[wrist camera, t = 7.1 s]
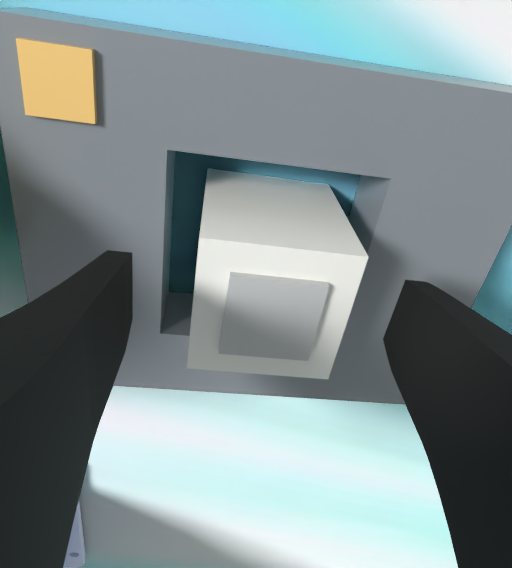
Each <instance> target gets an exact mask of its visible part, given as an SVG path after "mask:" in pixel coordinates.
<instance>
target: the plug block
mask: <svg viewBox="0 0 512 568" xmlns="http://www.w3.org/2000/svg"><path fill="white" fill-rule="evenodd" d="M367 260H368V255H367V253H366V251H365V250H364V248H363V246H362V244H361V242H360V240H359V239H358V237H357V235H356V233H355V231H354V230H353V228H352V226H351V224H350V222H349V221H348V219H347V217H346V215H345V213H344V211H343V210H342V208H341V206H340V204H339V202H338V201H337V199H336V197H335V195H334V193H333V191H332V190H331V188H330V186H329V184H322V183H315V182H307V181H300V180H292V179H285V178H278V177H270V176H263V175H255V174H248V173H241V172H233V171H226V170H218V169H211V168H208V170H207V178H206V186H205V194H204V202H203V210H202V218H201V226H200V234H199V243H198V254H197V264H196V275H195V285H194V296H193V306H192V316H191V327H190V337H189V348H188V358H187V368H186V369H199V370H212V371H225V372H238V373H251V374H264V375H277V376H290V377H303V378H316V379H329V375H330V372H331V369H332V366H333V363H334V360H335V357H336V354H337V351H338V348H339V345H340V342H341V339H342V336H343V333H344V330H345V327H346V324H347V321H348V318H349V315H350V312H351V309H352V306H353V303H354V300H355V297H356V294H357V291H358V288H359V285H360V282H361V279H362V276H363V273H364V270H365V267H366V263H367Z"/></svg>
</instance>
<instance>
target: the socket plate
mask: <svg viewBox="0 0 512 568" xmlns="http://www.w3.org/2000/svg"><path fill="white" fill-rule="evenodd" d="M0 127H1V133H2V140H3V146H4V153H5V159H6V166H7V172H8V178H9V185H10V191H11V198H12V204H13V210H14V217H15V223H16V230H17V236H18V242H19V249H20V255H21V262H22V268H23V275H24V281H25V287H26V294H27V300H28V303H30V302H31V301H33V300H35V299H36V298H38V297H39V296H41V295H43V294H44V293H46V292H48V291H49V290H51V289H52V288H54V287H56V286H57V285H59V284H60V283H62V282H63V281H65V280H66V279H68V278H69V277H71V276H72V275H73V274H75V273H76V272H78V271H79V270H81V269H82V268H83V267H85V266H86V265H87V264H89V263H90V262H92V261H93V260H94V259H96V258H97V257H98V256H100V255H101V254H103V253H104V252H106V251H107V250H110V251H121V252H131V253H132V269H133V319H132V324H131V329H130V333H129V338H128V342H127V347H126V351H125V354H124V357H123V360H122V362H121V365H120V368H119V371H118V373H117V376H116V379H115V381H114V384H113V386H127V387H143V388H159V389H174V390H190V391H205V392H221V393H237V394H252V395H268V396H283V397H299V398H315V399H330V400H346V401H361V402H377V403H393V404H405V402H404V400H403V397H402V395H401V393H400V390H399V388H398V386H397V383H396V381H395V379H394V376H393V374H392V371H391V368H390V365H389V361H388V358H387V354H386V349H385V345H384V341H383V337H384V335H385V332H386V330H387V327H388V324H389V322H390V319H391V316H392V314H393V311H394V308H395V306H396V303H397V300H398V298H399V295H400V293H401V290H402V287H403V285H404V282H405V280H414V281H424V282H428V283H430V284H432V285H434V286H436V287H438V288H440V289H441V290H443V291H445V292H446V293H448V294H449V295H451V296H452V297H454V298H456V299H457V300H459V301H460V302H462V303H463V304H465V305H466V306H468V307H469V308H471V307H472V305H473V303H474V301H475V299H476V297H477V295H478V293H479V291H480V289H481V287H482V285H483V283H484V280H485V278H486V276H487V274H488V272H489V270H490V268H491V266H492V264H493V262H494V260H495V258H496V256H497V254H498V252H499V250H500V248H501V246H502V244H503V242H504V240H505V238H506V236H507V234H508V232H509V230H510V228H511V226H512V86H509V85H503V84H497V83H491V82H485V81H478V80H472V79H466V78H460V77H454V76H448V75H441V74H435V73H429V72H423V71H417V70H410V69H404V68H398V67H392V66H386V65H379V64H373V63H367V62H361V61H355V60H348V59H342V58H336V57H330V56H324V55H318V54H311V53H305V52H299V51H293V50H287V49H280V48H274V47H268V46H262V45H256V44H249V43H243V42H237V41H231V40H225V39H218V38H212V37H206V36H200V35H194V34H187V33H181V32H175V31H169V30H163V29H157V28H150V27H144V26H138V25H132V24H126V23H119V22H113V21H107V20H101V19H95V18H88V17H82V16H76V15H70V14H64V13H57V12H51V11H45V10H39V9H33V8H0ZM176 151H180V152H188V153H196V154H204V155H211V156H219V157H227V158H235V159H242V160H250V161H258V162H266V163H273V164H281V165H289V166H297V167H304V168H312V169H320V170H328V171H335V172H343V173H351V174H359V175H360V179H359V183H358V186H357V190H356V193H355V197H354V201H353V204H352V208H351V211H350V215H349V219H348V221H349V222H350V224H351V226H352V228H353V230H354V231H355V233H356V235H357V237H358V239H359V240H360V242H361V244H362V246H363V248H364V250H365V251H366V253H367V255H368V260H367V263H366V267H365V270H364V273H363V276H362V279H361V282H360V285H359V288H358V291H357V294H356V297H355V300H354V303H353V306H352V309H351V312H350V315H349V318H348V321H347V324H346V327H345V330H344V333H343V336H342V339H341V342H340V345H339V348H338V351H337V354H336V357H335V360H334V363H333V366H332V369H331V372H330V375H329V379H316V378H303V377H290V376H277V375H264V374H251V373H238V372H225V371H212V370H199V369H186V368H187V358H188V348H189V337H190V327H191V316H192V306H193V296H194V294H192V293H181V292H170V291H169V276H170V256H171V235H172V214H173V194H174V173H175V152H176Z"/></svg>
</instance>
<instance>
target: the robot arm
mask: <svg viewBox="0 0 512 568" xmlns="http://www.w3.org/2000/svg"><path fill="white" fill-rule="evenodd" d="M132 319H133V269H132V253H131V252H121V251H110V250H107V251H106V252H104V253H103V254H101V255H100V256H98V257H97V258H96V259H94V260H93V261H92V262H90V263H89V264H87V265H86V266H85V267H83V268H82V269H81V270H79V271H78V272H76V273H75V274H73V275H72V276H71V277H69V278H68V279H66V280H65V281H63V282H62V283H60V284H59V285H57V286H56V287H54V288H52V289H51V290H49V291H48V292H46V293H44V294H43V295H41V296H39V297H38V298H36V299H35V300H33V301H31V302H30V303H28V304H26V305H24V306H23V307H21V308H19V309H17V310H15V311H13V312H11V313H10V314H7V315H5V316H3V317H1V318H0V568H79V567H82V566H83V565H84V563H85V559H86V554H85V546H84V537H83V528H82V519H81V510H80V502H79V496H80V492H81V488H82V484H83V479H84V476H85V472H86V468H87V464H88V460H89V456H90V452H91V448H92V444H93V440H94V437H95V434H96V431H97V428H98V425H99V422H100V419H101V416H102V414H103V411H104V408H105V406H106V403H107V400H108V398H109V395H110V392H111V389H112V387H113V384H114V381H115V379H116V376H117V373H118V371H119V368H120V365H121V362H122V360H123V357H124V354H125V351H126V347H127V342H128V338H129V333H130V329H131V324H132ZM383 341H384V345H385V349H386V354H387V358H388V361H389V365H390V368H391V371H392V374H393V376H394V379H395V381H396V383H397V386H398V388H399V390H400V393H401V395H402V397H403V400H404V402H405V404H406V407H407V409H408V411H409V413H410V416H411V418H412V420H413V423H414V425H415V427H416V429H417V432H418V434H419V436H420V439H421V441H422V443H423V446H424V449H425V451H426V454H427V456H428V459H429V462H430V466H431V469H432V472H433V475H434V479H435V482H436V485H437V488H438V491H439V495H440V498H441V502H442V506H443V509H444V513H445V517H446V520H447V524H448V527H449V531H450V535H451V539H452V543H453V548H454V552H455V556H456V560H457V564H458V568H512V335H511V334H509V333H508V332H506V331H505V330H503V329H501V328H500V327H498V326H497V325H495V324H494V323H492V322H490V321H489V320H487V319H486V318H484V317H483V316H481V315H480V314H478V313H477V312H475V311H474V310H472V309H471V308H469V307H468V306H466V305H465V304H463V303H462V302H460V301H459V300H457V299H456V298H454V297H452V296H451V295H449V294H448V293H446V292H445V291H443V290H441V289H440V288H438V287H436V286H434V285H432V284H430V283H428V282H424V281H414V280H405V282H404V285H403V287H402V290H401V293H400V295H399V298H398V300H397V303H396V306H395V308H394V311H393V314H392V316H391V319H390V322H389V324H388V327H387V330H386V332H385V335H384V337H383Z"/></svg>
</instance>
